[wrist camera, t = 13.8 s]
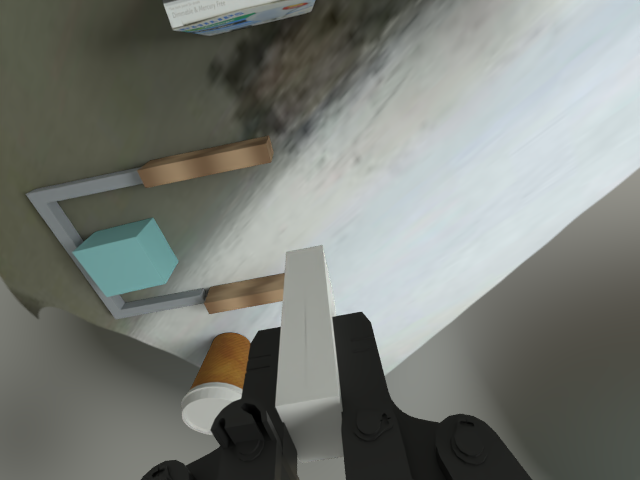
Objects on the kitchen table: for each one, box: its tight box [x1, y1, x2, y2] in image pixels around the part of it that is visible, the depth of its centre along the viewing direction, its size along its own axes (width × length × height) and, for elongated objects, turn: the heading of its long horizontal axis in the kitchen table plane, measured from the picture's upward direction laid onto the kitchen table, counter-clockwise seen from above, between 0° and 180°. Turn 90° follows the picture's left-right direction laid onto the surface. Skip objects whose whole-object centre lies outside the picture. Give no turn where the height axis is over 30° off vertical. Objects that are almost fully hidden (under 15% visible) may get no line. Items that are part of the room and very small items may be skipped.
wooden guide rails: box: [137, 136, 285, 314], centre depth 40 cm, size 14×21×4 cm, turn 11°
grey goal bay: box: [26, 167, 207, 319], centre depth 42 cm, size 14×20×2 cm
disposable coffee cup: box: [181, 333, 250, 435], centre depth 48 cm, size 10×10×12 cm
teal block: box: [72, 218, 178, 297], centre depth 41 cm, size 8×7×5 cm
